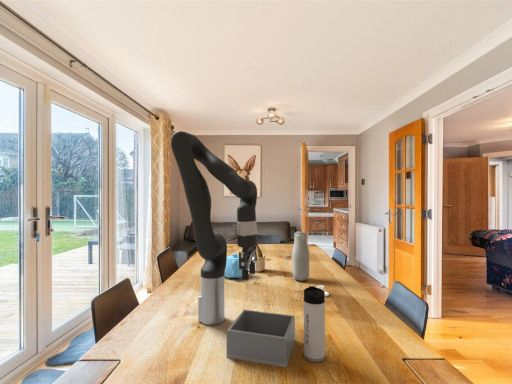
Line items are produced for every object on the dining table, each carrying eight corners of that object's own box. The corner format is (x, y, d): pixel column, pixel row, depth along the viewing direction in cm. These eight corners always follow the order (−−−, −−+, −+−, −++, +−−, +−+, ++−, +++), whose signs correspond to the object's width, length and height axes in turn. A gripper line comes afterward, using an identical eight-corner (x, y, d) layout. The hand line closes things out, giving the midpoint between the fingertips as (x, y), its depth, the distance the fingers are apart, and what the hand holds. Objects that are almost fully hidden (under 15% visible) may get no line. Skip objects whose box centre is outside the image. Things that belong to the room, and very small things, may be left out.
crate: (226, 357, 84) (226, 330, 84) (244, 332, 99) (244, 309, 99) (286, 367, 79) (286, 338, 79) (294, 339, 94) (294, 315, 94)
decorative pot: (253, 277, 168) (254, 254, 168) (230, 282, 158) (231, 257, 158) (238, 271, 181) (239, 250, 181) (216, 275, 171) (216, 253, 172)
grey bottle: (308, 278, 166) (308, 230, 166) (310, 283, 156) (310, 232, 156) (291, 277, 167) (291, 230, 167) (292, 282, 157) (292, 232, 157)
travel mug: (321, 350, 88) (321, 285, 88) (327, 362, 81) (327, 293, 82) (301, 350, 88) (301, 285, 88) (306, 362, 81) (306, 293, 81)
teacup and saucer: (329, 298, 134) (329, 289, 134) (312, 297, 135) (312, 288, 136) (328, 292, 142) (328, 284, 142) (312, 291, 144) (312, 283, 144)
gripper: (243, 231, 113) (245, 271, 112) (230, 235, 99) (232, 282, 99) (261, 230, 111) (263, 272, 110) (251, 235, 97) (253, 283, 97)
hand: (249, 277), depth 105 cm, fingers open, 8 cm apart
